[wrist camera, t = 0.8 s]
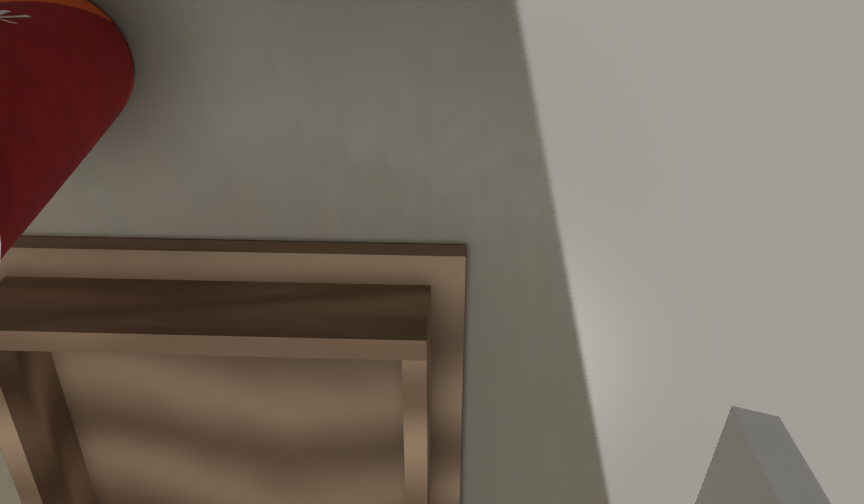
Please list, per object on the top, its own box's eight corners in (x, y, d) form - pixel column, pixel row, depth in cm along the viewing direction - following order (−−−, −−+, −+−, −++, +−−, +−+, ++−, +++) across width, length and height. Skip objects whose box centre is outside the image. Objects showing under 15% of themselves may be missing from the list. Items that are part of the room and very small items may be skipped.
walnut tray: (-26, 235, 36) (-94, 298, 31) (465, 244, 35) (465, 310, 31) (85, 559, 47) (46, 638, 43) (458, 572, 46) (456, 653, 42)
